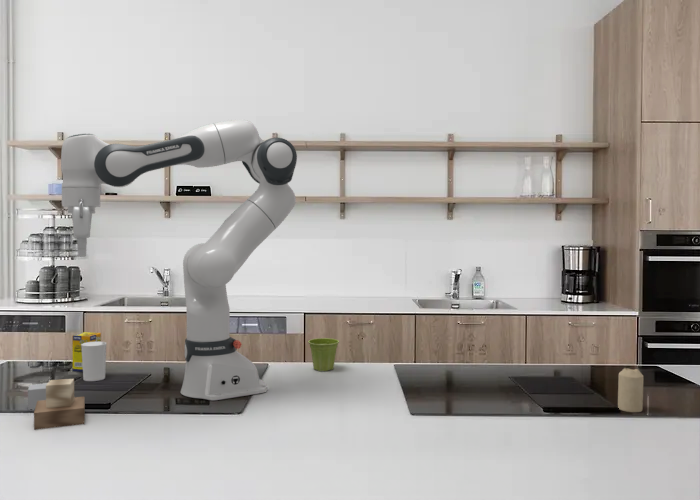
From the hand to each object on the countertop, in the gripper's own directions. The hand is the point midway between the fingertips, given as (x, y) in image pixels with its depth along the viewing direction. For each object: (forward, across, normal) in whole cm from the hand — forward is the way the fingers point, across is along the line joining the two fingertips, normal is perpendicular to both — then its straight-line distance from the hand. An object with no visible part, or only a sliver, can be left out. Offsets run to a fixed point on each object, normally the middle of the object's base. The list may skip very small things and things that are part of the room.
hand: (82, 255), depth 156 cm
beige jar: (+37, -57, -122) cm, 140 cm away
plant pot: (+37, +8, -67) cm, 77 cm away
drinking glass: (+36, +21, -2) cm, 42 cm away
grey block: (+36, -3, +10) cm, 38 cm away
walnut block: (+37, -16, +5) cm, 40 cm away
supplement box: (+36, +33, 0) cm, 49 cm away
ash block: (+33, -16, +5) cm, 37 cm away
